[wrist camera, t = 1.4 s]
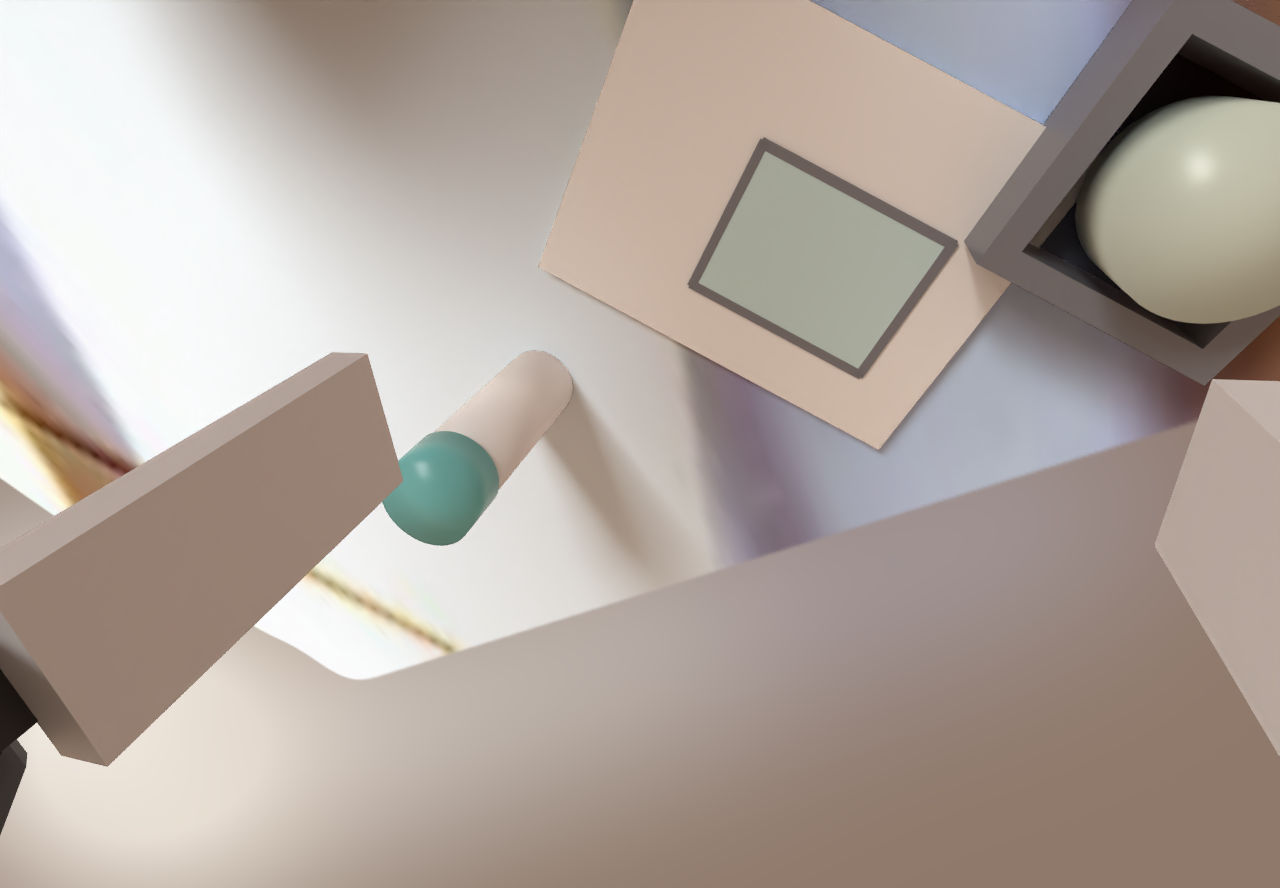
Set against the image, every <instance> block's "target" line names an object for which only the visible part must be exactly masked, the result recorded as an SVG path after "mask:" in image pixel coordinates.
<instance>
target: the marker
mask: <svg viewBox="0 0 1280 888" xmlns="http://www.w3.org/2000/svg"><path fill="white" fill-rule="evenodd" d="M572 394H573V383H572V379H571V376H570V374H569V372H568V370H567V369H566V367H565V366H564V365H563V363H562V362H560V361H559V360H558V359H557V358H556V357H554V356H552V355H550V354H548V353H546V352H542V351H527V352H524V353H522V354H520V355H519V356H517V357H516V358H515V359H514V360H513V361H512V362H511V363H509V364H508V365H507V366H506V367H505V368H504V369H503V370H502V371H501V372H500V373H498V374H497V375H496V376H495V377H494V378H493V379H492V380H491V381H490V382H489V383H487V384H486V385H485V386H484V387H483V388H482V389H481V390H480V391H479V392H478V393H476V394H475V395H474V396H473V397H472V398H471V399H470V400H469V401H468V402H467V403H465V404H464V405H463V406H462V407H461V408H460V409H459V410H458V411H457V412H456V413H454V414H453V415H452V416H451V417H450V418H449V419H448V420H447V421H446V422H445V423H443V424H442V425H441V426H440V427H439V428H438V429H437V430H436V431H435V432H434V433H431V434H429V435H427V436H426V437H424V438H423V439H422V440H421V441H420V442H419V443H418V444H417V445H415V446H414V447H413V448H412V449H411V450H410V451H409V452H408V453H407V454H405V455H404V456H403V457H402V458H401V459H400V460H399V461H398V463H399V467H400V470H401V474H402V477H403V482H402V483H401V484H400V485H399V486H398V487H397V488H396V489H395V490H394V491H393V492H392V493H391V494H389V495H388V496H387V497H386V498H385V499H384V500H383V501H382V502H383V505H384V507H385V509H386V511H387V513H388V514H389V516H390V517H391V519H392V520H393V521H394V522H395V523H396V525H397V526H398V527H399V528H401V529H402V530H403V531H404V532H406V533H407V534H408V535H410V536H411V537H413V538H415V539H417V540H419V541H422V542H424V543H427V544H431V545H441V546H443V545H450V544H453V543H456V542H458V541H459V540H461V539H462V538H463V537H464V536H465V535H466V533H467V532H468V531H469V530H470V528H471V527H472V526H473V525H474V523H475V522H476V521H477V520H478V518H479V517H480V516H481V515H482V514H483V512H484V511H485V510H486V509H487V507H488V506H489V505H490V504H491V502H492V501H493V500H494V498H495V497H496V495H497V493H498V490H499V489H500V487H501V486H502V485H503V484H504V482H505V481H506V480H507V479H508V478H509V476H510V475H511V474H512V473H513V471H514V470H515V469H516V468H517V466H518V465H519V464H520V463H521V461H522V460H523V459H524V458H525V457H526V455H527V454H528V453H529V452H530V450H531V449H532V448H533V447H534V445H535V444H536V443H537V442H538V441H539V439H540V438H541V437H542V436H543V434H544V433H545V432H546V431H547V429H548V428H549V427H550V426H551V425H552V423H553V422H554V421H555V420H556V418H557V417H558V416H559V415H560V413H561V412H562V411H563V410H564V408H565V407H566V406H567V405H568V403H569V402H570V400H571V397H572Z"/></svg>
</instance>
